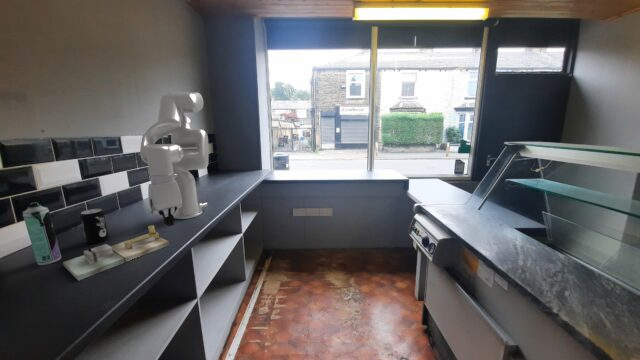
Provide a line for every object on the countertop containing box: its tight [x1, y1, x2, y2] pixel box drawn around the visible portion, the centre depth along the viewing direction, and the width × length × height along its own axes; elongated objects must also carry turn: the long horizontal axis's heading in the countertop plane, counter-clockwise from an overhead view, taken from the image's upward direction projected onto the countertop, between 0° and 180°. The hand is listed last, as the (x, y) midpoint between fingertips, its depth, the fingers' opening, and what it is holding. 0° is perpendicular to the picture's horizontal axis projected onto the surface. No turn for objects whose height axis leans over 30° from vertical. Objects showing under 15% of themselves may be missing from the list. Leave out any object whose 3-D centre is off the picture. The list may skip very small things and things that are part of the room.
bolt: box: [123, 224, 160, 248], centre depth 90 cm, size 10×2×5 cm, turn 147°
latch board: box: [62, 233, 170, 282], centre depth 85 cm, size 25×14×5 cm, turn 147°
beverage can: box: [80, 208, 110, 245], centre depth 95 cm, size 7×7×12 cm
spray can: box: [22, 201, 62, 266], centre depth 80 cm, size 6×6×20 cm
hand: (169, 225), depth 98 cm, fingers closed
